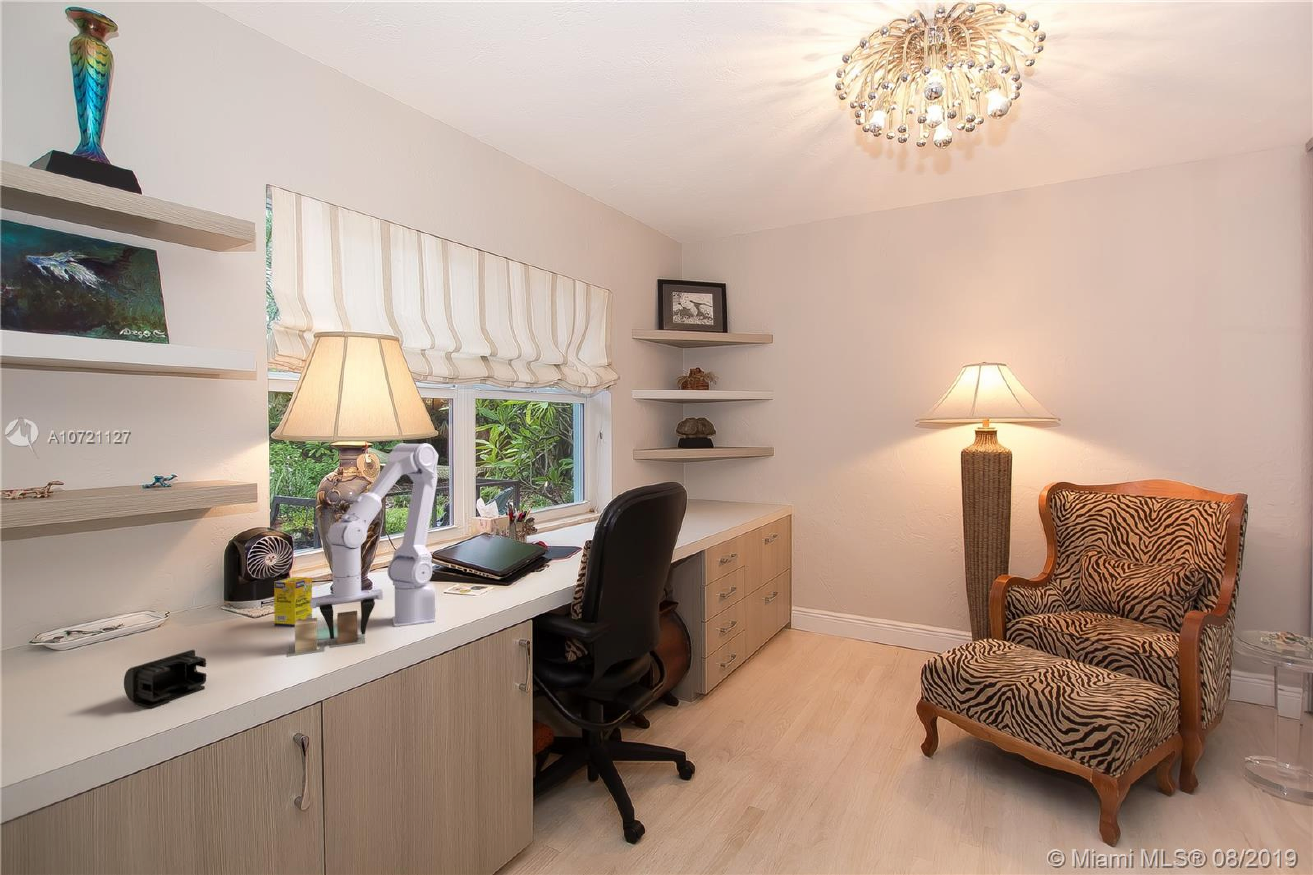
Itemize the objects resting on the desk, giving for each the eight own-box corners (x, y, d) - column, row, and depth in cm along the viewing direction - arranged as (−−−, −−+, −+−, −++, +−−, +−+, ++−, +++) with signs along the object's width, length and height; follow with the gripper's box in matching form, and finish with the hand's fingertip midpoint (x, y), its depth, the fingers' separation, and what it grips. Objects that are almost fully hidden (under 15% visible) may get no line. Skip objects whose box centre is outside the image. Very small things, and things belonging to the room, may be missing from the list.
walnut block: (357, 636, 145) (357, 610, 145) (357, 642, 142) (357, 615, 142) (337, 639, 144) (337, 612, 143) (337, 644, 140) (337, 617, 140)
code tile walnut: (364, 634, 147) (364, 633, 147) (365, 643, 141) (365, 643, 141) (330, 639, 144) (330, 638, 144) (329, 648, 138) (329, 647, 138)
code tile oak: (325, 642, 142) (325, 641, 142) (324, 652, 136) (324, 651, 136) (289, 647, 139) (289, 646, 139) (286, 657, 133) (286, 656, 133)
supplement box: (295, 628, 153) (294, 582, 153) (273, 626, 154) (273, 581, 154) (313, 620, 159) (312, 577, 159) (292, 619, 160) (291, 576, 160)
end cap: (185, 683, 120) (185, 647, 120) (209, 689, 117) (208, 652, 117) (123, 704, 111) (122, 665, 111) (147, 711, 108) (146, 671, 108)
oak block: (317, 644, 140) (317, 617, 140) (316, 650, 136) (316, 622, 136) (296, 647, 138) (296, 620, 138) (295, 653, 135) (294, 625, 135)
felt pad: (341, 627, 153) (340, 625, 153) (340, 638, 145) (340, 636, 145) (298, 632, 149) (298, 631, 149) (295, 643, 141) (295, 642, 141)
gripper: (379, 567, 150) (379, 625, 150) (309, 575, 142) (309, 636, 142) (383, 573, 144) (384, 633, 144) (310, 581, 136) (311, 645, 136)
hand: (347, 635), depth 143 cm, fingers open, 6 cm apart
